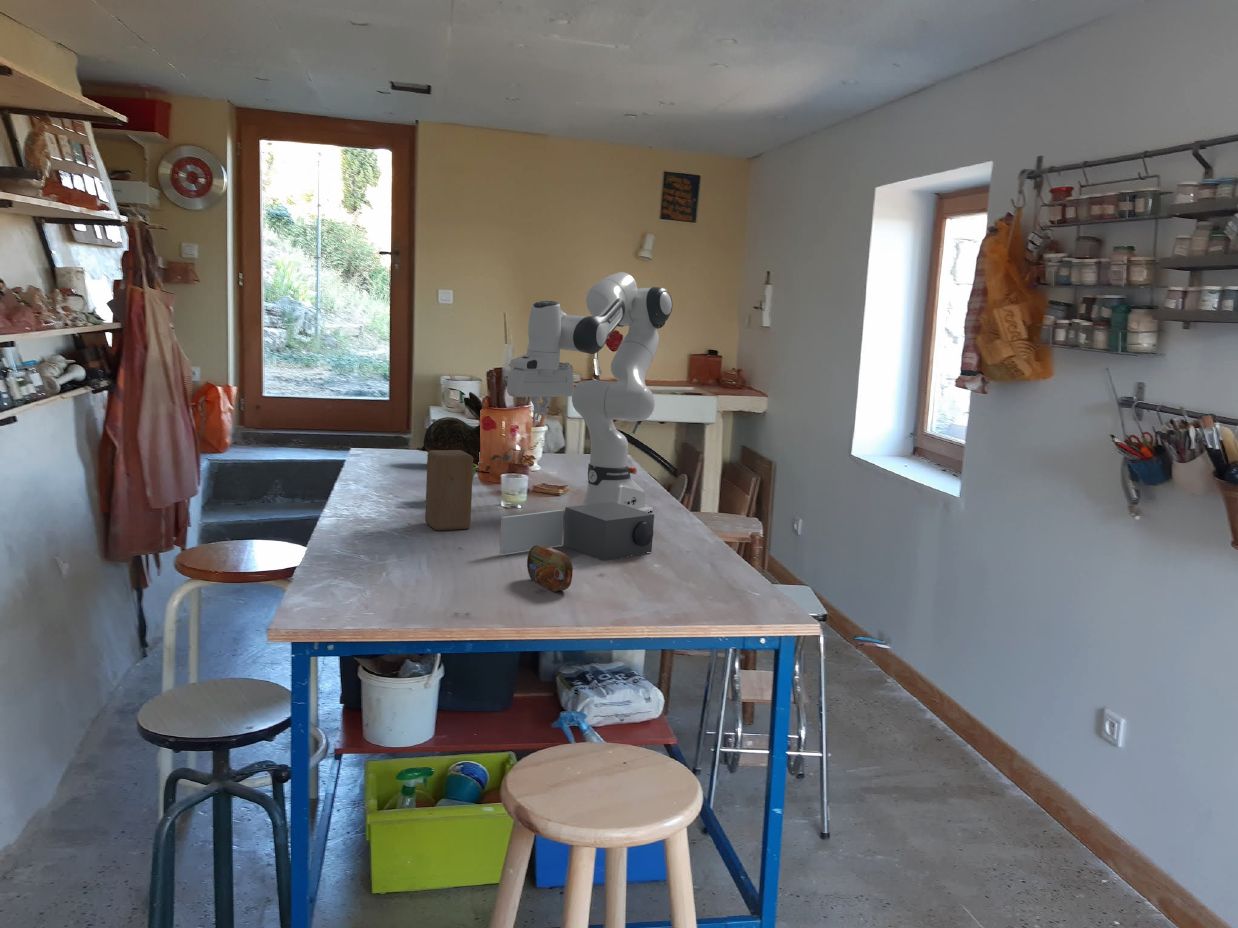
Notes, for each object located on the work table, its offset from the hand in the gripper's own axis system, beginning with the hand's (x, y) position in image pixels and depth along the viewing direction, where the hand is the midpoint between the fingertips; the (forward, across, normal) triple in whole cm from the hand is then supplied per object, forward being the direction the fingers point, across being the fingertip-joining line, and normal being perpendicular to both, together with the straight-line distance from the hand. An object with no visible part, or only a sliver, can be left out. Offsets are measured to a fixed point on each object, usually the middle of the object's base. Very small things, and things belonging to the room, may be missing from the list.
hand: (540, 413), depth 257 cm
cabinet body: (+31, -2, +29) cm, 43 cm away
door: (+31, +16, +21) cm, 41 cm away
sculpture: (+31, -27, -81) cm, 91 cm away
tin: (+32, +30, +47) cm, 64 cm away
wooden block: (+31, +22, -9) cm, 39 cm away
